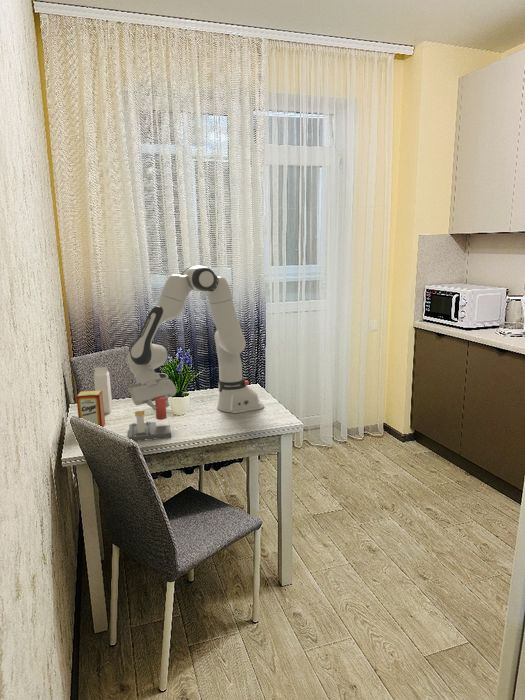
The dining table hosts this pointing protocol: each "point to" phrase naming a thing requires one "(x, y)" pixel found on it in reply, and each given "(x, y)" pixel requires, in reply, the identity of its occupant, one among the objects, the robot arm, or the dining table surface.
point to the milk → (103, 386)
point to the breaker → (140, 423)
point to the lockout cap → (161, 408)
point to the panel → (151, 430)
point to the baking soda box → (91, 407)
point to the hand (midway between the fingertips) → (161, 407)
